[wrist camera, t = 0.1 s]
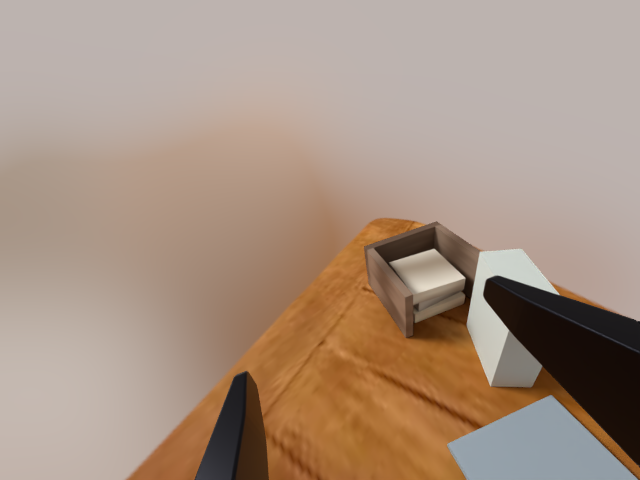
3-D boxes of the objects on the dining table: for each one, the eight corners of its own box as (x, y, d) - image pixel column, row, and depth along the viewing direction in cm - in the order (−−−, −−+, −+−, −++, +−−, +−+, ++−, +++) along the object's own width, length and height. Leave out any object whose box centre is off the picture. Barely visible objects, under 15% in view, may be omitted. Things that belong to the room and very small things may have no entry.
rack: (486, 305, 28) (496, 262, 25) (406, 337, 27) (405, 297, 23) (434, 259, 35) (436, 221, 32) (368, 283, 34) (364, 246, 31)
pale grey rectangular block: (531, 387, 21) (571, 308, 16) (490, 386, 22) (515, 310, 16) (499, 324, 26) (521, 248, 21) (466, 325, 27) (479, 252, 21)
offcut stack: (468, 305, 29) (473, 275, 26) (414, 326, 28) (415, 297, 25) (432, 272, 34) (434, 244, 31) (386, 289, 33) (384, 261, 30)
